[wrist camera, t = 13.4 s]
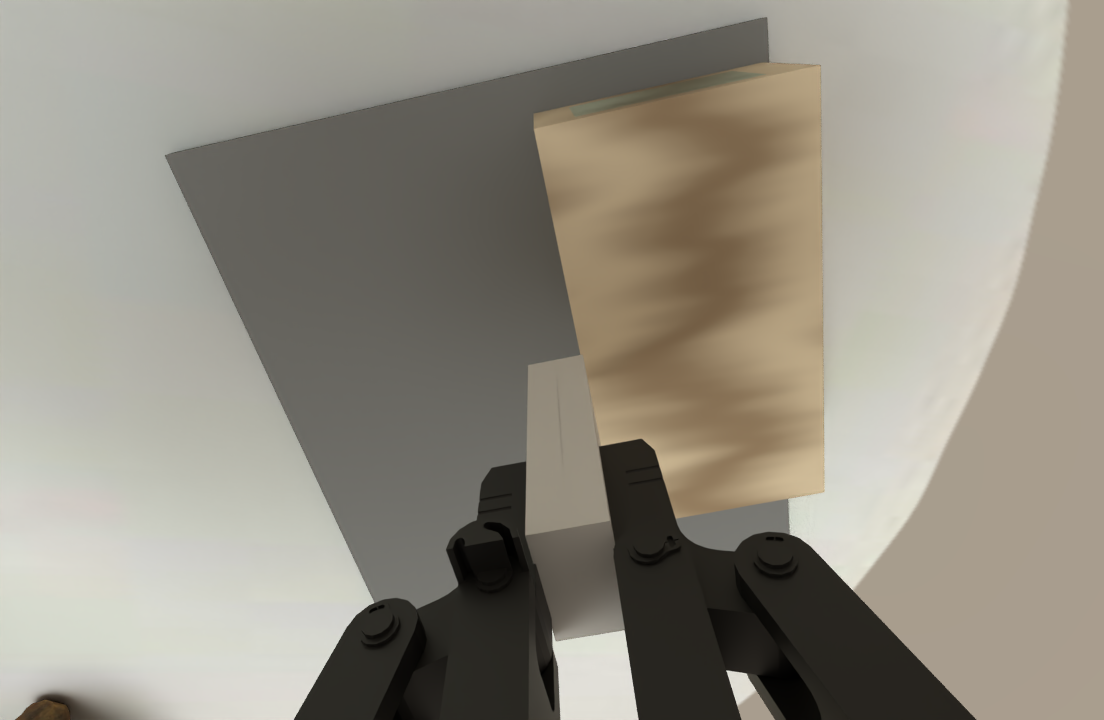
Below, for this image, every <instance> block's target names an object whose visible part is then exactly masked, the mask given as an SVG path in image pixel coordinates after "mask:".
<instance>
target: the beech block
mask: <svg viewBox="0 0 1104 720" xmlns="http://www.w3.org/2000/svg"><path fill="white" fill-rule="evenodd" d="M533 117H534V132H535V137H536V142H537V147H538V152H539V157H540V161H541V166H542V171H543V176H544V181H545V186H546V190H547V195H548V200H549V205H550V210H551V215H552V220H553V224H554V229H555V234H556V239H557V244H558V249H559V253H560V258H561V263H562V268H563V273H564V278H565V282H566V287H567V292H568V297H569V302H570V307H571V311H572V316H573V321H574V326H575V331H576V336H577V340H578V345H579V350H580V355H583V358H584V363H585V368H586V373H587V378H588V383H589V388H590V393H591V398H592V403H593V408H594V413H595V418H596V423H597V428H598V432H599V437H600V443H601V446H604V445H609V444H615V443H620V442H626V441H631V440H636V439H643V440H644V441H645V442H646V443H647V444H648V445H650V446H651V447H652V448H653V449H654V450H655V453H656V456H657V459H658V462H659V466H660V469H661V472H662V475H663V480H664V482H665V485H666V489H667V492H668V495H669V498H670V502H671V505H672V508H673V511H674V515H675V518H676V519H677V518H682V517H688V516H694V515H699V514H705V513H710V512H716V511H722V510H727V509H733V508H739V507H744V506H750V505H755V504H761V503H767V502H772V501H778V500H783V499H789V498H795V497H800V496H806V495H811V494H817V493H823V492H824V387H823V278H822V169H821V65H809V64H786V63H764V62H762V63H757V64H753V65H748V66H744V67H739V68H735V69H730V70H726V71H721V72H717V73H713V74H708V75H704V76H699V77H695V78H690V79H686V80H681V81H677V82H672V83H668V84H664V85H659V86H655V87H650V88H646V89H641V90H637V91H632V92H628V93H623V94H619V95H614V96H610V97H606V98H601V99H597V100H592V101H588V102H583V103H579V104H574V105H570V106H565V107H561V108H557V109H552V110H548V111H543V112H539V113H534V114H533Z"/></svg>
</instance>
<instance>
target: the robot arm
mask: <svg viewBox="0 0 1104 720" xmlns="http://www.w3.org/2000/svg"><path fill="white" fill-rule="evenodd" d="M479 500H480V502H479V505H478V515H477V520H476V521H473V522H471V523H469V524H467V525H466V526H464V527H462V528H461V529H459V530H458V531H457V532H456V533H455V534H454V535H453V537H452V538H451V539H450V541H449V543H448V545H447V548H446V552H447V555H448V557H449V560H450V563H451V565H452V568H453V571H454V573H455V576H456V579H457V581H458V587H456V588H455V589H454V590H453V591H451V592H450V593H449V594H447V595H445V596H444V597H442V598H440V599H438V600H436V601H434V602H431V603H429V604H427V605H425V606H422V607H420V608H418V609H416V608H415V606H413V605H412V604H411V603H410V602H409V601H408V600H404V599H400V598H390V599H383V600H381V601H378V602H376V603H374V604H372V605H369V606H368V607H367V608H365V609H364V610H363V611H361V612H360V613H359V614H357V615H356V616H355V618H354V619H353V620H352V622H351V623H350V624H349V625H348V627H347V628H346V630H345V632H344V633H343V635H342V637H341V639H340V640H339V642H338V644H337V646H336V647H335V649H334V651H333V652H332V654H331V656H330V658H329V659H328V661H327V663H326V665H325V666H324V668H323V670H322V672H321V673H320V675H319V677H318V679H317V680H316V682H315V684H314V685H313V687H312V689H311V691H310V692H309V694H308V696H307V698H306V699H305V701H304V703H303V705H302V706H301V708H300V710H299V712H298V713H297V715H296V717H295V718H294V720H560V704H559V681H558V666H557V662H556V658H555V655H554V651H553V646H552V629H553V633H554V636H555V640H556V641H561V640H567V639H573V638H579V637H585V636H591V635H598V634H604V633H610V632H616V631H622V630H625V634H626V641H627V647H628V654H629V660H630V667H631V673H632V680H633V686H634V692H635V699H636V705H637V712H638V718H639V720H741V717H740V714H739V710H738V707H737V704H736V701H735V697H734V694H733V691H732V688H731V685H730V681H729V678H728V675H727V672H726V670H729V671H735V672H742V673H747V675H748V678H749V679H750V681H751V683H752V684H753V686H754V687H755V689H756V690H757V692H758V694H759V695H760V697H761V698H762V700H763V701H764V703H765V704H766V706H767V708H768V709H769V711H770V712H771V714H772V715H773V717H774V719H775V720H976V719H975V718H974V717H973V716H972V715H971V714H970V713H969V712H968V710H967V709H966V708H965V707H964V706H963V705H962V704H961V703H960V702H959V701H958V700H957V699H956V698H955V697H954V696H953V695H952V694H951V693H950V692H949V691H948V690H947V689H946V688H945V686H944V685H943V684H942V683H941V682H940V681H939V680H938V679H937V678H936V677H935V676H934V675H933V674H932V673H931V672H930V671H929V670H928V669H927V668H926V667H925V666H924V665H923V663H922V662H921V661H920V660H919V659H918V658H917V657H916V656H915V655H914V654H913V653H912V652H911V651H910V650H909V649H908V648H907V647H906V646H905V645H904V644H903V643H902V642H901V641H900V640H899V639H898V637H897V636H896V635H895V634H894V633H893V632H892V631H891V630H890V629H889V628H888V627H887V626H886V625H885V624H884V623H883V622H882V621H881V620H880V619H879V618H878V617H877V615H876V614H874V612H873V611H872V610H871V609H870V608H869V607H868V606H867V605H866V604H865V603H864V602H863V601H862V600H861V599H860V598H859V597H858V596H857V595H856V593H855V592H854V591H853V590H852V589H851V588H850V587H849V586H848V585H847V584H846V583H845V582H844V581H843V580H842V579H841V578H840V577H839V576H838V575H837V574H836V573H835V572H834V571H833V569H832V568H831V567H830V566H829V565H828V564H827V563H826V562H825V561H824V560H823V559H822V558H821V557H820V556H819V555H818V554H817V553H816V552H815V551H814V550H813V549H812V548H811V547H810V546H809V545H808V544H806V543H805V542H804V541H802V540H801V539H800V538H798V537H795V536H792V535H789V534H786V533H781V532H763V533H759V534H754V535H752V536H750V537H748V538H747V539H745V540H743V541H742V542H741V543H740V545H739V546H738V547H737V549H736V550H735V551H724V550H715V549H710V548H705V547H703V546H700V545H697V544H695V543H694V542H692V541H690V540H689V539H687V538H686V537H685V535H684V534H683V533H682V532H681V531H680V529H679V527H678V525H677V521H676V518H675V515H674V511H673V508H672V505H671V502H670V498H669V495H668V492H667V489H666V485H665V482H664V480H663V475H662V472H661V469H660V466H659V462H658V459H657V456H656V453H655V450H654V449H653V448H652V447H651V446H650V445H648V444H647V443H646V442H645V441H644V440H643V439H636V440H631V441H626V442H620V443H615V444H609V445H604V446H601V443H600V437H599V432H598V428H597V423H596V418H595V413H594V408H593V403H592V398H591V393H590V388H589V383H588V378H587V373H586V368H585V363H584V358H583V355H578V356H573V357H568V358H562V359H557V360H552V361H547V362H542V363H537V364H531V365H528V401H527V459H526V461H525V462H520V463H514V464H509V465H503V466H498V467H492V468H491V469H490V471H489V472H488V474H487V475H486V477H485V478H484V480H483V481H482V483H481V489H480V497H479Z"/></svg>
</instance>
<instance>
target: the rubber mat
mask: <svg viewBox="0 0 1104 720" xmlns="http://www.w3.org/2000/svg"><path fill="white" fill-rule="evenodd" d="M762 62H764V63H769V50H768V26H767V18H761V19H757V20H752V21H748V22H743V23H739V24H735V25H730V26H726V27H722V28H717V29H713V30H708V31H704V32H700V33H695V34H691V35H687V36H682V37H678V38H674V39H669V40H665V41H660V42H656V43H652V44H647V45H643V46H639V47H634V48H630V49H625V50H621V51H617V52H612V53H608V54H604V55H599V56H595V57H591V58H586V59H582V60H577V61H573V62H569V63H564V64H560V65H556V66H551V67H547V68H542V69H538V70H534V71H529V72H525V73H521V74H516V75H512V76H508V77H503V78H499V79H494V80H490V81H486V82H481V83H477V84H473V85H468V86H464V87H459V88H455V89H451V90H446V91H442V92H438V93H433V94H429V95H425V96H420V97H416V98H411V99H407V100H403V101H398V102H394V103H390V104H385V105H381V106H376V107H372V108H368V109H363V110H359V111H355V112H350V113H346V114H342V115H337V116H333V117H328V118H324V119H320V120H315V121H311V122H307V123H302V124H298V125H293V126H289V127H285V128H280V129H276V130H272V131H267V132H263V133H259V134H254V135H250V136H245V137H241V138H237V139H232V140H228V141H224V142H219V143H215V144H210V145H206V146H202V147H197V148H193V149H189V150H184V151H180V152H176V153H171V154H168V155H165V157H166V159H167V161H168V163H169V166H170V168H171V170H172V172H173V174H174V176H175V178H176V180H177V183H178V185H179V187H180V189H181V191H182V193H183V195H184V198H185V200H186V202H187V204H188V206H189V208H190V210H191V212H192V215H193V217H194V219H195V221H196V223H197V225H198V227H199V230H200V232H201V234H202V236H203V238H204V240H205V242H206V244H207V247H208V249H209V251H210V253H211V255H212V257H213V259H214V261H215V264H216V266H217V268H218V270H219V272H220V274H221V276H222V279H223V281H224V283H225V285H226V287H227V289H228V291H229V293H230V296H231V298H232V300H233V302H234V304H235V306H236V308H237V311H238V313H239V315H240V317H241V319H242V321H243V323H244V325H245V328H246V330H247V332H248V334H249V336H250V338H251V340H252V343H253V345H254V347H255V349H256V351H257V353H258V355H259V357H260V360H261V362H262V364H263V366H264V368H265V370H266V372H267V374H268V377H269V379H270V381H271V383H272V385H273V387H274V389H275V392H276V394H277V396H278V398H279V400H280V402H281V404H282V406H283V409H284V411H285V413H286V415H287V417H288V419H289V421H290V424H291V426H292V428H293V430H294V432H295V434H296V436H297V438H298V441H299V443H300V445H301V447H302V449H303V451H304V453H305V456H306V458H307V460H308V462H309V464H310V466H311V468H312V470H313V473H314V475H315V477H316V479H317V481H318V483H319V485H320V487H321V490H322V492H323V494H324V496H325V498H326V500H327V502H328V505H329V507H330V509H331V511H332V513H333V515H334V517H335V519H336V522H337V524H338V526H339V528H340V530H341V532H342V534H343V537H344V539H345V541H346V543H347V545H348V547H349V549H350V551H351V554H352V556H353V558H354V560H355V562H356V564H357V566H358V569H359V571H360V573H361V575H362V577H363V579H364V581H365V583H366V586H367V588H368V590H369V592H370V594H371V596H372V598H373V600H374V603H376V602H378V601H381V600H383V599H390V598H400V599H404V600H408V601H409V602H410V603H411V604H412V605H413V606H415V608H416V609H418V608H420V607H422V606H425V605H427V604H429V603H431V602H434V601H436V600H438V599H440V598H442V597H444V596H445V595H447V594H449V593H450V592H451V591H453V590H454V589H455V588H456V587H458V581H457V579H456V576H455V573H454V571H453V568H452V565H451V563H450V560H449V557H448V555H447V552H446V548H447V545H448V543H449V541H450V539H451V538H452V537H453V535H454V534H455V533H456V532H457V531H458V530H459V529H461V528H462V527H464V526H466V525H467V524H469V523H471V522H473V521H476V520H477V515H478V505H479V502H480V500H479V497H480V489H481V483H482V481H483V480H484V478H485V477H486V475H487V474H488V472H489V471H490V469H491V468H492V467H498V466H503V465H509V464H514V463H520V462H525V461H526V459H527V401H528V365H531V364H537V363H542V362H547V361H552V360H557V359H562V358H568V357H573V356H578V355H580V350H579V345H578V340H577V336H576V331H575V326H574V321H573V316H572V311H571V307H570V302H569V297H568V292H567V287H566V282H565V278H564V273H563V268H562V263H561V258H560V253H559V249H558V244H557V239H556V234H555V229H554V224H553V220H552V215H551V210H550V205H549V200H548V195H547V190H546V186H545V181H544V176H543V171H542V166H541V161H540V157H539V152H538V147H537V142H536V137H535V132H534V117H533V114H534V113H539V112H543V111H548V110H552V109H557V108H561V107H565V106H570V105H574V104H579V103H583V102H588V101H592V100H597V99H601V98H606V97H610V96H614V95H619V94H623V93H628V92H632V91H637V90H641V89H646V88H650V87H655V86H659V85H664V84H668V83H672V82H677V81H681V80H686V79H690V78H695V77H699V76H704V75H708V74H713V73H717V72H721V71H726V70H730V69H735V68H739V67H744V66H748V65H753V64H757V63H762ZM676 521H677V525H678V527H679V529H680V531H681V532H682V533H683V534H684V535H685V537H686V538H687V539H689V540H690V541H692V542H694V543H695V544H697V545H700V546H703V547H705V548H710V549H715V550H724V551H735V550H736V549H737V547H738V546H739V545H740V543H741V542H742V541H743V540H745V539H747V538H748V537H750V536H752V535H754V534H759V533H763V532H781V533H786V534H789V515H788V499H783V500H778V501H772V502H767V503H761V504H755V505H750V506H744V507H739V508H733V509H727V510H722V511H716V512H710V513H705V514H699V515H694V516H688V517H682V518H677V519H676Z"/></svg>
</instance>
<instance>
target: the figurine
mask: <svg viewBox="0 0 1104 720" xmlns="http://www.w3.org/2000/svg"><path fill="white" fill-rule="evenodd" d="M15 720H70V713H69V710H68V708H67V706H66V705H64V704H61V703H57V702H53V701H49V700H43V701H40V702H37V703H33V704H31V705H30V706H29V707H28V708H26V710H25V711H24V712H23V713H22V715H20V716H19V717H18V718H17V719H15Z"/></svg>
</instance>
